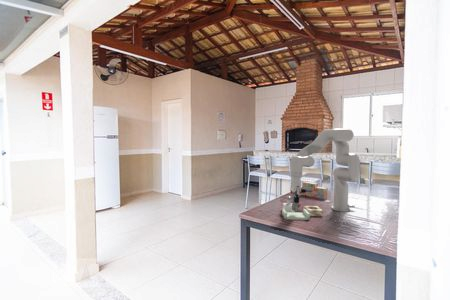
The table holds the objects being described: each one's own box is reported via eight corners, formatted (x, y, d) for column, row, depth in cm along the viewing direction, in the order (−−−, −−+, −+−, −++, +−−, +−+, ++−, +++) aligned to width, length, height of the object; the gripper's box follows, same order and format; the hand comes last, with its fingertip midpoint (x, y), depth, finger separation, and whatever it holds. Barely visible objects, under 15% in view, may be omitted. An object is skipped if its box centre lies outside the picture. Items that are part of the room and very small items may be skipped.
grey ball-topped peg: (291, 209, 167) (291, 195, 167) (292, 211, 163) (292, 197, 162) (284, 209, 168) (285, 195, 167) (286, 210, 163) (286, 197, 163)
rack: (305, 214, 158) (305, 209, 157) (309, 219, 148) (309, 213, 148) (281, 214, 159) (282, 208, 159) (284, 219, 149) (284, 213, 149)
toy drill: (312, 208, 168) (310, 187, 169) (289, 205, 182) (288, 187, 183) (315, 206, 171) (313, 186, 172) (293, 204, 185) (291, 186, 186)
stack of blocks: (327, 198, 203) (327, 184, 202) (324, 199, 199) (324, 185, 198) (305, 193, 219) (305, 181, 218) (301, 194, 215) (302, 181, 214)
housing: (292, 209, 169) (292, 203, 168) (294, 212, 162) (294, 205, 161) (282, 209, 169) (282, 202, 169) (284, 212, 162) (284, 205, 162)
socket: (317, 211, 165) (317, 206, 165) (322, 216, 155) (322, 210, 155) (303, 211, 166) (303, 205, 165) (307, 215, 156) (307, 210, 155)
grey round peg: (297, 209, 155) (297, 193, 154) (298, 211, 151) (299, 194, 150) (291, 208, 155) (292, 192, 155) (292, 210, 151) (293, 194, 151)
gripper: (287, 172, 160) (287, 198, 161) (293, 176, 144) (292, 205, 145) (298, 172, 160) (298, 198, 161) (305, 176, 143) (304, 205, 144)
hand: (295, 201), depth 153 cm, fingers closed on grey round peg, 4 cm apart
